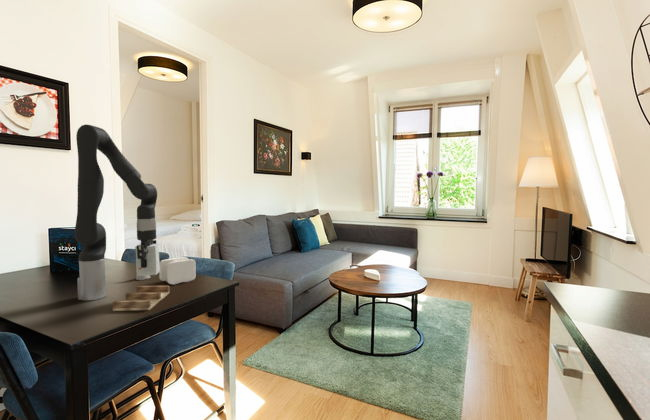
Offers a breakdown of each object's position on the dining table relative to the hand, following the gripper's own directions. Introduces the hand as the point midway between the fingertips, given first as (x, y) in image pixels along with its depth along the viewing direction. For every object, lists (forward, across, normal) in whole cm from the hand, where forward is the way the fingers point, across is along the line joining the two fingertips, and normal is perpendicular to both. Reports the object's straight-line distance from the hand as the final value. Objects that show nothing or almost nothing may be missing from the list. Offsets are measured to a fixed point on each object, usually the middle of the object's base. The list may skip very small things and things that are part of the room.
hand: (147, 265), depth 147 cm
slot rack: (+14, +5, 0) cm, 15 cm away
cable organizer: (+15, -25, +4) cm, 29 cm away
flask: (+15, -31, -16) cm, 38 cm away
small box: (+4, 0, 0) cm, 4 cm away
